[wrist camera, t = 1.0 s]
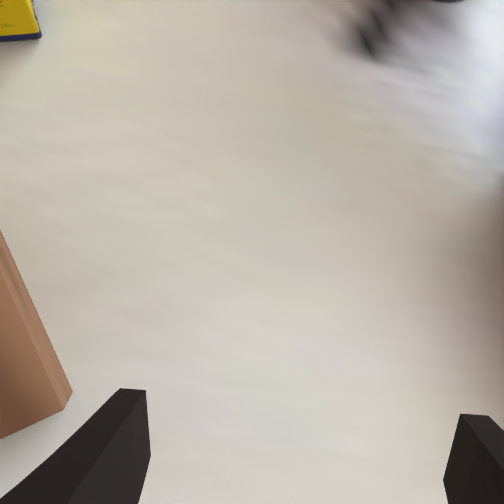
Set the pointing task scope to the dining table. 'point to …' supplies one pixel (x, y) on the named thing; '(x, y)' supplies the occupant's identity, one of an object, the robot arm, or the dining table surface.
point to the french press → (448, 0)
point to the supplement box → (18, 20)
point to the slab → (25, 356)
